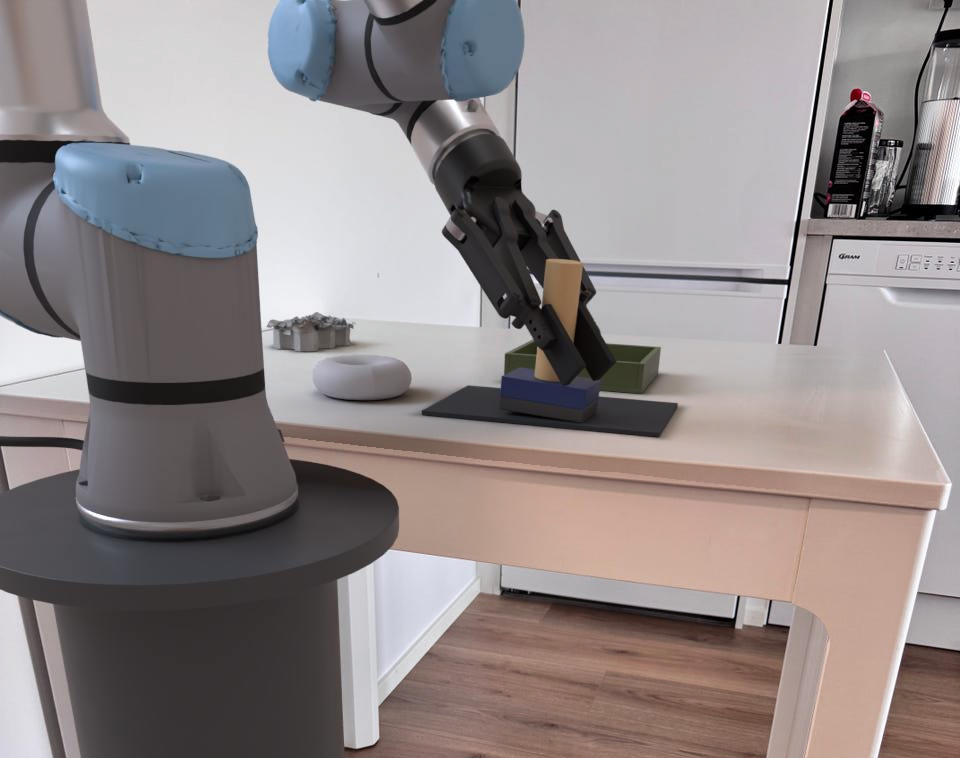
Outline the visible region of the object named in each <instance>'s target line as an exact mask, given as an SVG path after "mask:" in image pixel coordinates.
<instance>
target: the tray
mask: <svg viewBox="0 0 960 758" xmlns="http://www.w3.org/2000/svg"><path fill="white" fill-rule="evenodd" d="M606 344H607V346H608V348H609V349H610V351H611V353H612V354H613V356H614V358H615V360H616V361H617V362H616V363H615V364H614V365H613V366H612V367H611V368H610V369H609V370H608V371H607V372H606V373H605V374H604V375H603V376H602V377H601V378H600V379H599V380H601V384H600V391H603V392H615V393H626V394H627V393H628V394H637V395H639V394H640V395H642V394H643V392H644V391H645V390H646V389H647V388H648V387H649V386H650V385H651V383H652V382H653V381H654V380H655V378H657V376H658V375H659V370H660V369H659V368H660V360H661V351H662V346H650V345H638V344H637V345H636V344H625V343H623V344H622V343H608V342H606ZM536 356H537V345H536V343H535V342H534V340H533V339H531V340H528V341H526V342H524V343H523V344H521V345H519V346H517V347H515V348H513V349H511V350H509V351H507V352H504V362H503V363H504V365H503V366H504V368H503V375H505V374H508V373H510V372H512V371H514V370H516V369H518V368H520V367H521V368H527V369H534V370H535V366H536ZM577 376H578V377H585V378H591V377H590V375H589V373H588V371H587V370H586V368H584V369H583V370H582V371H581V372H580V373H579V374H578V375H577ZM591 379H592V378H591Z"/></svg>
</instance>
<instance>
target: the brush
mask: <svg viewBox="0 0 960 758" xmlns="http://www.w3.org/2000/svg"><path fill="white" fill-rule="evenodd" d="M583 267H584V263H583V262H582V261H581V262H579V261H574V260H565V259H547V260H546V267H545V277H544V287H543V288H542V299H541V306H540V308H542V307H543V306H544V305H545V304H551V305H552V307H553V309H554V310H555V312H556V314H557V316H558V317H559V319H560V321H561V323H562V324H563V326H564V328H565V330H566V331H567V333H568V335H569V337H570V338H571V340H572V342H573V343H574V336H575V327H576V319H577V310H578V302H579V293H580V285H581V276H582V268H583ZM600 384H601V380H597V381H593V380H592V379H591V378H585V377H578V376H576V377H575V379H574V380H573V381H572V382H571V383H570V384H569V385H565V386H562V384H561V382H560V380H559V379H558V377H557V375H556V373H555V372H554V370H553V368H552V366H551V364H550V363H549V361H548V359H547V357H546V356H545V354H544V352H543V350H541V349H540V348H539V347H538V346H537V356H536V366H535V370H534V369H527V368H521V367H520V368H518V369H516V370H514V371H512V372H510V373H508V374H505V375H504V374H503V375H502V376H501V381H500V388H501V390H500V403H499V409H501V410H507V411H513V412H519V413H525V414H531V415H536V416H542V417H548V418H554V419H560V420H566V421H572V422H577V423H583V422H584V421H586V420H587V419H588V418H589V417H591V416H592V415H593V414H595V413H596V412H597V406H598V399H599V396H600V391H601V390H600Z"/></svg>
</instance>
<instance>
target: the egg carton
mask: <svg viewBox="0 0 960 758" xmlns="http://www.w3.org/2000/svg"><path fill="white" fill-rule="evenodd" d="M355 325H356V322H355V321H352V322H350V323H348V322H347V319H345V317H342V318H341V319H340V318H338V317H336V316H331V315H328V316H326V315H324V314H322V313H320V312H319V311H315V312H314V313H312V314H309V315H304V316H301V317H298V316H297V315H295V316H294V317H293V318H290V319H285V320H277V319H269V321H268V323H267V324H266V328H268V329H270V328H271V329H272V338H273V339H272V343H273V346H274V348H275V349H278V350H282V349H286V350H287V349H292V350H294V352H299V353H300V352H318V351H319V349H333V348H335V347H336V346H343V347H344V346H345V347H347V346H351V344H352V343H351V342H352V341H351V338H350V337H351V330H354V327H355Z"/></svg>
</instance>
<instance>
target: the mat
mask: <svg viewBox="0 0 960 758" xmlns="http://www.w3.org/2000/svg"><path fill="white" fill-rule="evenodd" d="M500 390H501V387H494V386H482V385H481V386H480V385H466V386H464V387H462V388H460V389H459V390H457V391H455V392H453V393H451V394H450V395H448V396H445V397H444V398H442V399H440V400H439V401H436V402H435V403H433V404H431V405H430V406H428V407H425V408H424V409H422V410H421V415H422V416H429V417H440V418H453V419H460V420H461V419H462V420H471V421H472V420H473V421H484V422H493V423H494V422H495V423H506V424H516V425H524V426H525V425H526V426H537V427H548V428H558V429H569V430H580V431H589V432H590V431H592V432H599V433H609V434H621V435H633V436H643V437H653V438H659V437H660V435H661V434H662V433H663V430H664V429H665V427H666V426H667V424H668V423H669V421H670V420H671V418H672V416H673V415H674V413H675V412H676V410H677V409H678V405H679V403H678V402H671V401H658V400H647V399H634V398H624V397H623V398H621V397H612V396H611V397H610V396H600V395H599V399H598V406H597V412H596V413H595V414H593V415H592V416H591V417H589V418H588V419H587V420H586V421H584V422H583V423H577V422H572V421H566V420H560V419H554V418H548V417H542V416H536V415H531V414H525V413H519V412H513V411H507V410H501V409H499V403H500Z"/></svg>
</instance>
